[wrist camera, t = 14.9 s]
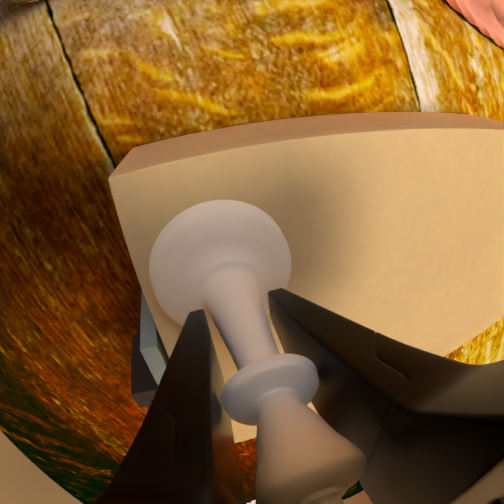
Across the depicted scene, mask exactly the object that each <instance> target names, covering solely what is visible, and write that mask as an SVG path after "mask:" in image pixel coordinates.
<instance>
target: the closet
mask: <svg viewBox="0 0 504 504" xmlns="http://www.w3.org/2000/svg"><path fill="white" fill-rule="evenodd" d="M108 182H109V186H110V190H111V193H112V197H113V201H114V204H115V208H116V211H117V215H118V218H119V222H120V225H121V228H122V231H123V235H124V238H125V241H126V244H127V247H128V250H129V254H130V257H131V260H132V263H133V266H134V268H135V271H136V274H137V277H138V280H139V283H140V286H141V288H142V291H143V294H144V296H145V299H146V302H147V304H148V307H149V310H150V312H151V315H152V317H153V320H154V323H155V325H156V328H157V330H158V332H159V335H160V337H161V340H162V342H163V345H164V347H165V349H166V352H167V354H168V356H169V359H170V356H171V354H172V351H173V349H174V347H175V344H176V342H177V340H178V337H179V335H180V333H181V330H182V328H183V326H181V325H180V324H178V323H176V322H175V321H174V320H172V319H171V318H170V317H169V316H168V315H167V314H166V313H165V312H164V311H163V310H162V308H161V307H160V305H159V304H158V302H157V300H156V298H155V295H154V292H153V288H152V285H151V281H150V276H149V260H150V255H151V251H152V248H153V245H154V243H155V241H156V239H157V237H158V236H159V234H160V233H161V231H162V230H163V229H164V227H165V226H166V225H167V224H168V223H169V222H170V221H171V220H172V219H173V218H174V217H176V216H177V215H178V214H180V213H181V212H183V211H185V210H186V209H188V208H190V207H192V206H195V205H197V204H200V203H204V202H207V201H213V200H236V201H241V202H245V203H248V204H251V205H253V206H255V207H257V208H259V209H261V210H262V211H264V212H265V213H267V214H268V215H269V216H270V217H271V218H272V219H273V220H274V221H275V222H276V223H277V225H278V226H279V228H280V229H281V231H282V233H283V235H284V237H285V239H286V241H287V243H288V246H289V249H290V253H291V261H292V268H291V275H290V280H289V283H288V286H287V288H286V290H288V291H290V292H292V293H294V294H296V295H298V296H300V297H302V298H305V299H307V300H309V301H311V302H313V303H315V304H317V305H320V306H322V307H324V308H326V309H328V310H330V311H333V312H335V313H337V314H339V315H341V316H343V317H346V318H348V319H350V320H352V321H354V322H356V323H359V324H361V325H363V326H365V327H367V328H370V329H372V330H374V331H375V333H376V332H379V333H381V334H383V335H385V336H387V337H390V338H392V339H395V340H397V341H399V342H402V343H404V344H407V345H410V346H412V347H415V348H418V349H421V350H424V351H427V352H430V353H433V354H436V355H439V356H442V357H444V356H446V355H447V354H449V353H451V352H452V351H454V350H455V349H457V348H459V347H460V346H462V345H463V344H465V343H466V342H468V341H470V340H471V339H473V338H474V337H476V336H477V335H479V334H480V333H482V332H483V331H484V330H486V329H487V328H489V327H490V326H492V325H493V324H494V323H496V322H497V321H499V320H500V319H501V318H503V317H504V122H502V121H498V120H494V119H489V118H484V117H480V116H475V115H470V114H458V113H437V112H369V113H347V114H332V115H319V116H308V117H298V118H289V119H280V120H272V121H264V122H257V123H250V124H244V125H238V126H231V127H226V128H220V129H214V130H209V131H204V132H199V133H194V134H189V135H184V136H179V137H175V138H170V139H166V140H162V141H157V142H153V143H149V144H145V145H141V146H137V147H134V148H132V149H131V150H130V151H129V153H128V154H127V155H126V156H125V157H124V159H123V160H122V161H121V162H120V164H119V165H118V166H117V167H116V169H115V170H114V171H113V173H112V174H111V175H110V176H109V178H108ZM267 318H268V321H269V325H270V328H271V331H272V334H273V337H274V340H275V343H276V345H277V348H278V351H279V354H285V353H284V350H283V348H282V345H281V343H280V340H279V338H278V335H277V333H276V330H275V328H274V326H273V323H272V320H271V317H270V312H269V313H268V314H267ZM211 336H212V340H213V343H214V347H215V350H216V354H217V357H218V361H219V364H220V368H221V371H222V374H223V378H224V382H225V384H226V383H227V381H228V380H229V379H230V378H231V377H232V376H233V375H234V374H235V373H236V372H237V371H238V369H237V367H236V365H235V363H234V361H233V358H232V356H231V354H230V352H229V351H228V349H227V347H226V345H225V343H224V341H223V339H222V337H221V335H220V334H211ZM307 406H308V407H309V408H311V409H312V410H313V411H314V412H316V413H317V414H318V412H317V411H316V409H315V407H314V406H313V404H312V402H310V403H309V404H308V405H307ZM318 415H319V414H318ZM230 418H231V417H230ZM231 424H232V430H233V436H234V442H235V443H237V442H241V441H245V440H249V439H252V438H256V435H257V426H250V425H244V424H241V423H238V422H236V421H235V420H233V419H232V418H231Z"/></svg>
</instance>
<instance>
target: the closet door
mask: <svg viewBox="0 0 504 504" xmlns="http://www.w3.org/2000/svg"><path fill="white" fill-rule="evenodd" d="M168 361H169V356H168V354H167V352H166V349H165V347H164V345H163V342H162V340H161V337H160V335H159V332H158V330H157V328H156V325H155V323H154V320H153V317H152V315H151V312H150V310H149V307H148V304H147V302H146V299H145V296H144V294H143V291H142V299H141V323H140V333H136V334H133V342H132V375H131V395H132V397H133V398H134V400H135V401H136V403H137V404H138V406H139V407H145V406H150V405H151V402H152V400H154V399H153V397H154V395H155V393H156V390H157V388H158V385H159V383H160V380H161V378H162V375H163V373H164V371H165V368H166V366H167V363H168Z"/></svg>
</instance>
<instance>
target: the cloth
mask: <svg viewBox="0 0 504 504" xmlns="http://www.w3.org/2000/svg"><path fill="white" fill-rule="evenodd" d="M446 1H447V2H448V3H449V5H450V6H451V7H452V8H453V9H454V10H455V11H457V12H459V13H461V14H462V15H463V16H464V17H465V18H466V20H467V21H468V22H469V23H471V24H473V25H475V26H477V28H478V29H479V30H480V31H481V33H482V34H483V35H485V36H487V37H490V38H491V39H492V40H493V41H494V42H495V43H496V44H497V45H498V46H500V47H502V48H504V0H446Z"/></svg>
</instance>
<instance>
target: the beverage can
mask: <svg viewBox="0 0 504 504" xmlns="http://www.w3.org/2000/svg"><path fill="white" fill-rule="evenodd" d="M9 1H13V2H17V3H33V2H38V1H41V0H9Z"/></svg>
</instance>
